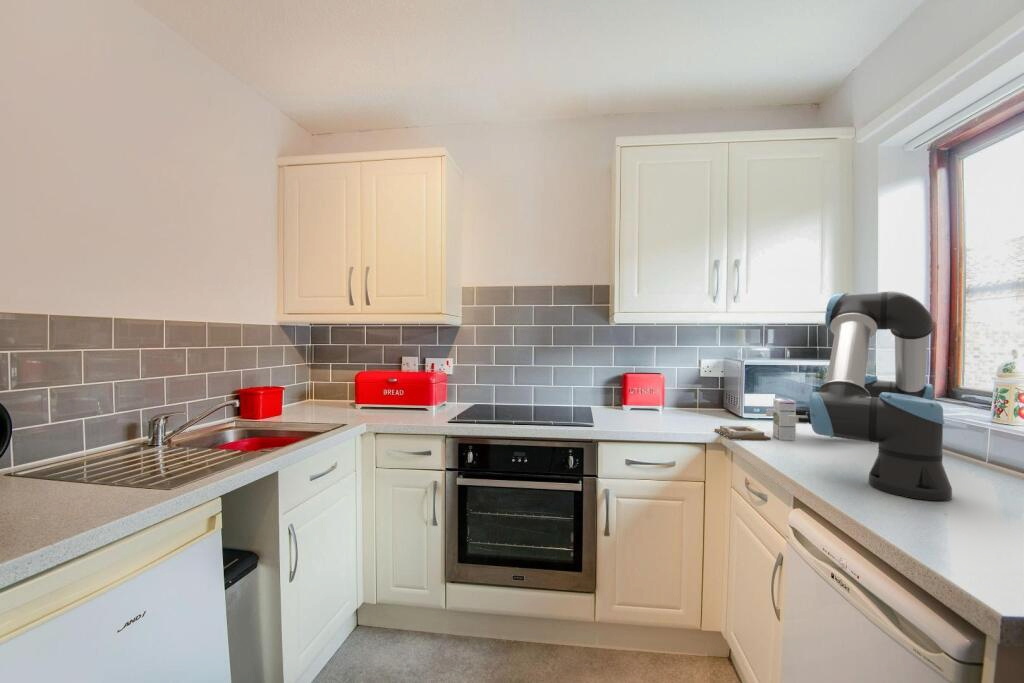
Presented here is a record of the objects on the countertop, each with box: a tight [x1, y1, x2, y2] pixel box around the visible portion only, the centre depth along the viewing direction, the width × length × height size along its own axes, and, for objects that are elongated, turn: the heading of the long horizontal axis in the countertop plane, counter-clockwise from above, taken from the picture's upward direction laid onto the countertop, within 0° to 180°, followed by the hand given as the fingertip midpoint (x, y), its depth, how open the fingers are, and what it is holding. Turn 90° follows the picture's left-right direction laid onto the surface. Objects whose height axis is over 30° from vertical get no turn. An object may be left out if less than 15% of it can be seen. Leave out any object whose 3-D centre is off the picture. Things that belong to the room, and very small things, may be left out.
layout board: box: [714, 425, 772, 441], centre depth 164 cm, size 14×14×2 cm
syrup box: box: [772, 397, 797, 441], centre depth 159 cm, size 6×6×14 cm
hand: (776, 415), depth 160 cm, fingers open, 13 cm apart
